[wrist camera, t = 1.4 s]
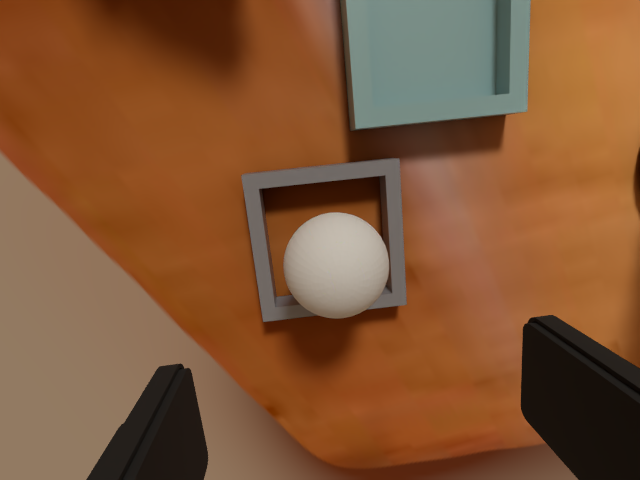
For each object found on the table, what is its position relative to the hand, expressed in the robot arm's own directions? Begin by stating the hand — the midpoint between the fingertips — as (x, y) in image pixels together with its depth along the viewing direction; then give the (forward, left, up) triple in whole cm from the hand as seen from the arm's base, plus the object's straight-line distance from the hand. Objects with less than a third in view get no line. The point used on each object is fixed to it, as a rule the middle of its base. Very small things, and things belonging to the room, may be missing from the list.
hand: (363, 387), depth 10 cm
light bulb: (0, 0, -18) cm, 18 cm away
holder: (0, 0, -18) cm, 18 cm away
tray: (-8, -13, -18) cm, 24 cm away
